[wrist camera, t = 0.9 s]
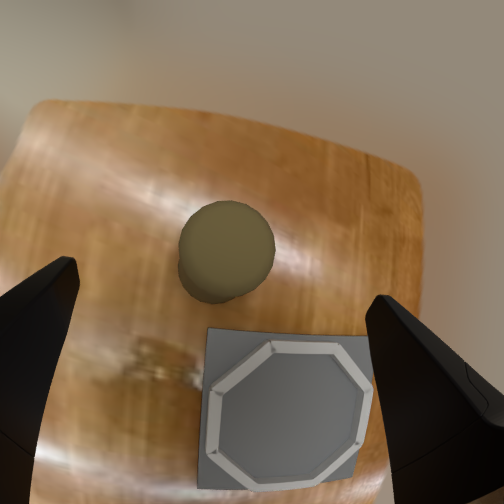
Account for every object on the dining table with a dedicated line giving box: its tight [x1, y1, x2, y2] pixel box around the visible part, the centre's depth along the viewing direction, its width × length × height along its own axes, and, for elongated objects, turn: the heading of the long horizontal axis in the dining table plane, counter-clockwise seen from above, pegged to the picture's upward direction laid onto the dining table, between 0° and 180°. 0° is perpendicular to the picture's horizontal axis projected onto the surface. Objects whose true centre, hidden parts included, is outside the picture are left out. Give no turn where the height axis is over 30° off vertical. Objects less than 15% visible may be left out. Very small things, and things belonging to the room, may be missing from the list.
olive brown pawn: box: [178, 201, 276, 304], centre depth 20 cm, size 6×6×11 cm
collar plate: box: [197, 328, 374, 492], centre depth 24 cm, size 16×16×2 cm
